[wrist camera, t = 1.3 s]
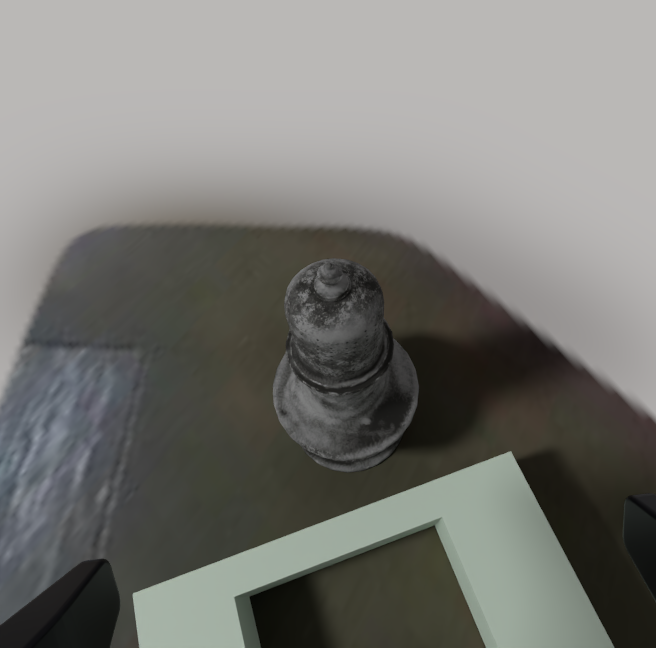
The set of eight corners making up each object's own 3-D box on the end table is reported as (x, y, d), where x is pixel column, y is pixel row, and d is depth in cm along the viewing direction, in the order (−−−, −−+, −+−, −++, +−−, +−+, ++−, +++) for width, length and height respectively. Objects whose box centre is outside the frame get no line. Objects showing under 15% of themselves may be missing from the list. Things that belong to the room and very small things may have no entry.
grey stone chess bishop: (290, 356, 25) (230, 181, 14) (410, 357, 24) (439, 175, 14) (280, 477, 22) (196, 371, 12) (415, 481, 22) (456, 372, 11)
